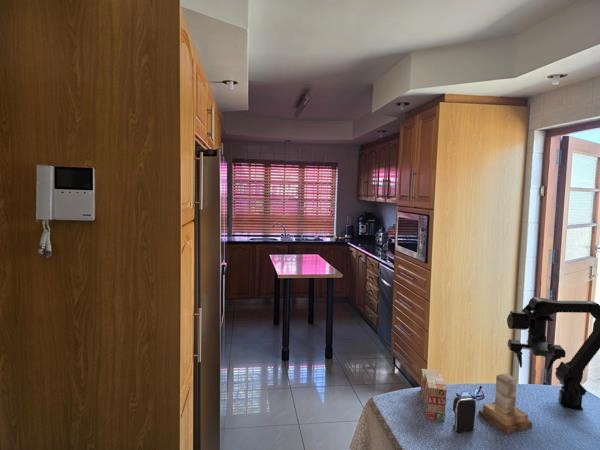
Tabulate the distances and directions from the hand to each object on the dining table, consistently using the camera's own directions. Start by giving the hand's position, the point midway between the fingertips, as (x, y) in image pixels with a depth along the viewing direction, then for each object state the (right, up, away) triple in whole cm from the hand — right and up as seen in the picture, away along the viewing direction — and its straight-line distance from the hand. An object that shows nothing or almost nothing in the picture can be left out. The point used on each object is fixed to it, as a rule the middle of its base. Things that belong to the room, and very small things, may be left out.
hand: (533, 369), depth 154 cm
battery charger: (-36, -14, -18) cm, 42 cm away
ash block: (-18, -9, -13) cm, 25 cm away
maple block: (-18, -12, -13) cm, 26 cm away
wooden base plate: (-18, -15, -13) cm, 27 cm away
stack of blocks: (-41, -13, -3) cm, 43 cm away
